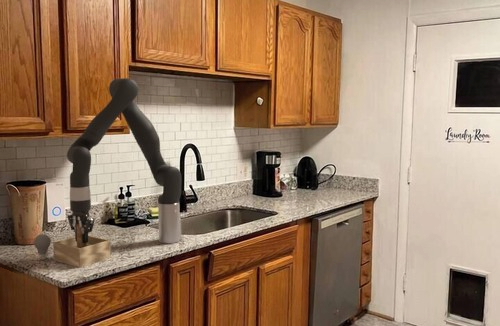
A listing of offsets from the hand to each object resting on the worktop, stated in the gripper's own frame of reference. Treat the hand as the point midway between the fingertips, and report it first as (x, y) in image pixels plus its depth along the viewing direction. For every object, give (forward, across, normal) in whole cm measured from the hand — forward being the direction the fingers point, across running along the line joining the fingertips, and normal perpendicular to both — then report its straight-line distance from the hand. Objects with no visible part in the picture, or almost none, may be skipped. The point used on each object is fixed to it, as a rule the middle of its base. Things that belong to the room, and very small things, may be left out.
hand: (81, 241), depth 185 cm
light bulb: (+7, +12, +9) cm, 17 cm away
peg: (+3, 0, 0) cm, 3 cm away
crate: (+7, 0, 0) cm, 7 cm away
